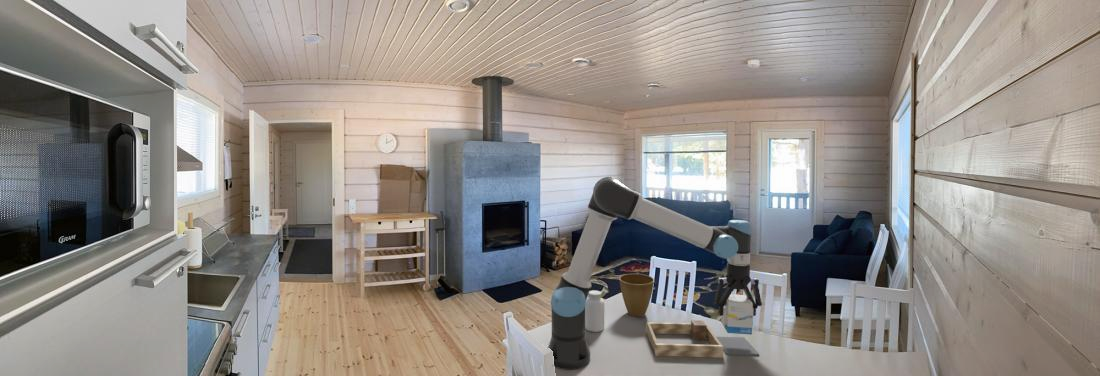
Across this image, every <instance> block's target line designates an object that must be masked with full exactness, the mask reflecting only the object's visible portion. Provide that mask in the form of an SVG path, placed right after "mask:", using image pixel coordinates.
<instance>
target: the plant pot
mask: <svg viewBox="0 0 1100 376" xmlns="http://www.w3.org/2000/svg"><path fill="white" fill-rule="evenodd" d="M654 283H655V278H653V277H652V276H650V275H647V274H643V273H627V274H626V273H625V274H622V275H620V276H619V285H620V291H621V296H622V299H623V302H624V306H625V308H626V311H627V314H628V315H629V316H632V317H634V318H640V317H641V318H642V317H644V316H645V315H646V313H647V310H648V307H649V304H650V301H651V298H652V294H653V290H654Z"/></svg>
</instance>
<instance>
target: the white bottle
mask: <svg viewBox="0 0 1100 376" xmlns="http://www.w3.org/2000/svg"><path fill="white" fill-rule="evenodd" d="M602 295H603V294H602V291H599V290H594V289H593V290H590V291H589V294H588V296H587V299H586V305H585V331H588V332H592V333H598V332H602V331H603V330H605V300H604V299H603V298H602Z"/></svg>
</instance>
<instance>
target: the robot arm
mask: <svg viewBox="0 0 1100 376" xmlns="http://www.w3.org/2000/svg"><path fill="white" fill-rule="evenodd" d="M594 184H595V185H594V186H593V189H592V190H593V191H592V194H591V196H590V200H589V201H588V202H589V203H588V205H587V209H588V211H589V214H588V217H587V220H586V222H585V225H584V228H583V229H582V233H581V236H580V238H579V241H578V244H577V246H576V249H575V252H574V254H573V256H572V259H571V262H570V265H569V267H568V270H567V271H566V272H563V273H562V275H561V277H560V280H559V283H558V285H557V286H556V288H555V290H554V291H553V292H552V295H551V299H550V306H551V338H550V341H549V342H548V343H549V344H548V347H547V349H548V348H550V349H551V350H552V351H553V356H554V365H555V366H554V367H555V368H559V369H563V370H576V369H581V368H583V367H585V366H587V365H588V364H589V363H590V362H591V351H590V347H589V344H588V342H587V338H586V329H585V305H586V299H587V298H588V294H589V291H591V288H592V283H591V281H590V279H591V276H592V274H593V272H594V269H595V265H596V264H597V262H598V259H599V255H600V253H601V251H602V247H603V245H604V243H605V240H606V237H607V234H608V232H609V230H610V227H611V224H612V222H613V221H615V220H618V217H621V218H622V219H626V220H632V219H633V220H635V221H638V222H640V223H643V224H645V225H648V226H650V227H652V228H655V229H656V230H659V231H660V232H661V231H662V232H664V233H666V234H668V235H671V236H673V237H676V238H678V239H680V240H683V241H686V242H688V243H689V244H691V245H694V246H695V247H699V248H702V249H704V250H706V251H707V252H710V253H712V254H715V256H716V257H719V258H721V259H726V261H727V264H726V276H725V277H720V276H719V277H717V286H716V290H715V293H714V299H713V304H714V305H715V306H717V307H718V314H719V315H720V323H721V324H722V326H723V325H726V307H725V306H724V305H725V304H726V300H727V299H728V298H729V296H730V295H731V294H733V293H732V292H734V291H735V290H743V292H744V293H745V294H744V295H746V296H747V298H748V299H750V301H751V302H752V303H753V310H752V327H753V326H754V317H756V314H757V309H758V307H761V306H762V305H763V303H762V299H761V293H760V289H759V284H760V283H759V282H760V281H759V279H757V278H756V277H753V278H752V277H751V276H750V275H751V274H750V273H751V266H750V265H751V264H750V263H751V246H752V245H751V241H752V225H751V223H750V222H749V221H747V220H743V219H731V220H729V221H727V222H728V223H727V225H723V226H722V225H719V226H717V225H714V226H713V225H712V226H711V225H706V224H704V223H702V222H700V221H698V220H695V219H692V218H690V217H688V216H686V215H683V214H681V213H678V212H676V211H674V210H673V209H669V208H668V207H665V206H663V205H660V204H658V203H655V202H653V201H652V200H648V199H647V198H644V197H642V196H641V195H642V194H641V193H640V192H638V191H635V190H634V189H631V188H630V187H628V186H627V185H625V184H624V183H623V182H622V180H620V179H618V178H616V177H613V176H606V177H605V176H604V177H603V178H600V179H599V180H598V181H597V182H596V183H594ZM726 283H727V284H726ZM749 283H750V284H751V286H752V292H753V296H752V294H751V292H750V289H749V287H748V285H749ZM725 284H726V288H725V290H724V285H725ZM723 290H724V292H723Z"/></svg>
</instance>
